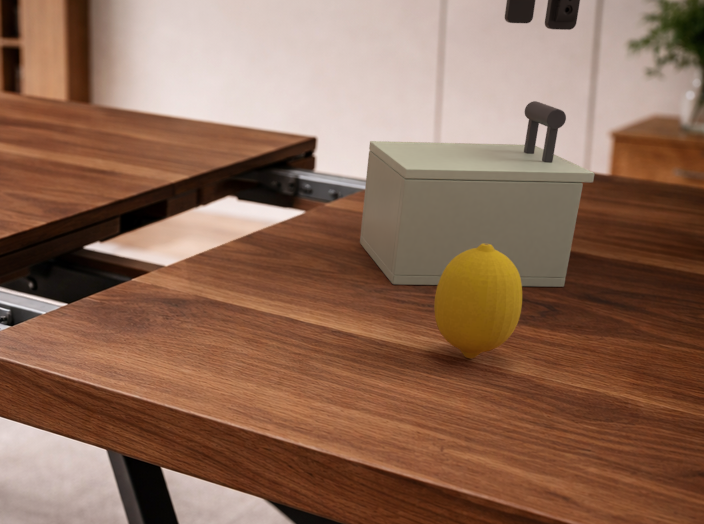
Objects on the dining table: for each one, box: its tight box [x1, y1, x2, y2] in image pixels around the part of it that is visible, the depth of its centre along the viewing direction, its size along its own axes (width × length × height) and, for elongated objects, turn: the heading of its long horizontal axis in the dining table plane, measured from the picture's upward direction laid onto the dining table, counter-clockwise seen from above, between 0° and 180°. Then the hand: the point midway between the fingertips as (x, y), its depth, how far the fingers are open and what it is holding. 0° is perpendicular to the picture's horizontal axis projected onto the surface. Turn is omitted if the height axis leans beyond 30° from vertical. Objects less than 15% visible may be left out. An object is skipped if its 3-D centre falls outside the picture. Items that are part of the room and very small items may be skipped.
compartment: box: [359, 150, 584, 288], centre depth 84 cm, size 15×13×9 cm
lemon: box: [433, 243, 523, 359], centre depth 63 cm, size 6×6×8 cm
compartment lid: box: [368, 100, 595, 184], centre depth 81 cm, size 15×13×5 cm
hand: (537, 25), depth 77 cm, fingers open, 8 cm apart
